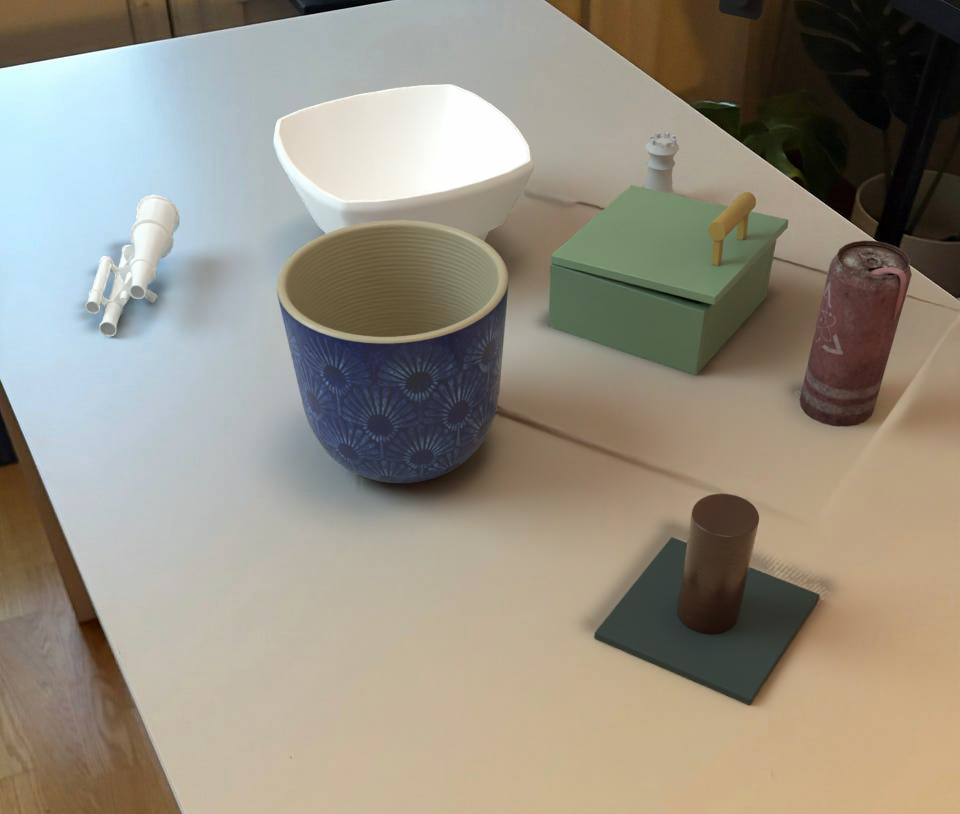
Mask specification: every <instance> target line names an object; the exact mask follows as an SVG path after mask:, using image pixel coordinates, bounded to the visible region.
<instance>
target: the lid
mask: <svg viewBox="0 0 960 814" xmlns="http://www.w3.org/2000/svg"><path fill="white" fill-rule="evenodd" d="M756 205H757V199H756V197H755V195H754V194H753V193H751V192H750V191H743V192H742V193H740V194H739V195H738V196H737V197H736V198H735V199H734V200H733V201H732V202H731V203H730V204H729V205H723V204H720V203H715V202H714V203H713V202H709V201H705V200H701V199H696V198H692V197H686V196H684V195H683V196H682V195H679V194H678V195H677V194H675V195H674V194H669V193H665V192H660V191H655V190H651V189H646V188H644V187H641V186H636V185H632V184H631V185H630V186H628V187H627V188H626V189H625V190H624V191H623V192H621V193H620V194H619V195H618V196H617V197H616V198H615V199H614V200H613V201H611V202H610V203H609V204H608V205H606V207H604V208H603V209H602V210H600V211H599V212H598V214H596V215H595V216H594V217H593V218H592V219H591V220H589V222H587V223H585V225H584V226H582V227H581V228H580V229H579V230H578V231H577V232H576V233H575V234H573V235H572V236H571V237H570V238H569V239H567V241H565V242H564V243H563V244H561V245H560V247H558V248H557V249H556V250H555V251H553V253H551V255H550V264H556V265H560V266H563V267H567V268H571V269H575V270H579V271H583V272H587V273H591V274H595V275H599V276H603V277H607V278H611V279H614V280H618V281H622V282H626V283H630V284H634V285H638V286H642V287H646V288H650V289H654V290H658V291H662V292H666V293H669V294H673V295H677V296H681V297H685V298H689V299H693V300H697V301H701V302H705V303H709V304H713V305H715V304H716V303H717V302H718V301H719V300H720V299H721V298H722V297H723V296H724V295H725V294H726V293H727V292H728V291H729V290H730V288H731V287H732V286H733V285H734V284H735V283H736V282H737V281H738V280H739V279H740V278H741V277H742V276H743V275H744V274H745V273H746V271H747V270H748V269H749V268H750V267H751V266H752V265H753V264H754V263H755V262H756V261H757V260H758V259H759V258H760V257H761V256H762V254H763V253H764V252H765V251H766V250H767V249H768V248H769V247H770V246H771V245H772V244H773V243H774V242H775V241H776V242H777V240H778V239H779V238H780V237H781V235H783V233H784V232H786V230H787V229H788V227H789V219H787V218H782V217H778V216H773V215H769V214H764V213H761V212H755V211H753V210H754V209H755V207H756Z"/></svg>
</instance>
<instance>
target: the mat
mask: <svg viewBox="0 0 960 814" xmlns="http://www.w3.org/2000/svg"><path fill="white" fill-rule="evenodd" d="M686 547H687V542H686V541H683V540H680V539H678V538H675V537H673V536H672V537H670V539H668V541H667V542H666V543H665V545H664V546H663V547H662V548H661V549H660V551H659V552H658V553H657V555H656V556H655V557H654V558H653V560H652V561H651V562H650V563H649V565H648V566H647V567H646V568H645V570H644V571H642V573H641V574H640V575H639V577H638V578H637V580H636V581H635V582H634V583H633V584H632V586H631V587H630V588H629V589H628V590H627V592H626V593H625V594H624V596H623V597H622V598H621V599H620V600H619V601H618V603H617V604H616V605H615V607H614V608H613V609H612V610H611V612H610V613H609V614H608V615H607V617H606V618H605V619H604V620H603V622H602V623H601V624H600V625H599V626H598V628H597V629H596V631H594V639H595V640H598V641H600V642H603V643H605V644H606V645H609V646H612V647H614V648H615V649H616V648H617V649H619V650H621V651H624V652H625V653H628V654H630V655H633V656H635V657H638V658H639V659H642V660H644V661H646V662H649V663H651V664H654V665H656V666H658V667H660V668H663V669H665V670H667V671H670V672H672V673H674V674H676V675H679V676H681V677H684V678H686V679H688V680H690V681H693V682H695V683H698V684H700V685H702V686H704V687H707V688H709V689H712V690H714V691H716V692H718V693H721V694H723V695H725V696H728V697H730V698H732V699H735V700H737V701H739V702H742V703H744V704H746V705H748V706H749V705H751V704H752V702H754V699H755V698H756V696H757V694H758V693H759V691H760V690H761V688H762V687H763V685H764V684H765V682H767V680H768V678H769V676H770V675H771V674H772V672H773V670H774V669H775V668H776V666H777V664H778V663H779V661H780V660H781V658H782V657H783V655H784V654H785V652H786V650H787V649H788V647H789V646H790V644H791V643H792V641H793V640H794V638H795V637H796V635H797V633H798V632H799V631H800V629H801V628H802V626H803V624H804V623H805V621H807V618H808V617H809V615H810V614H811V612H812V611H813V609H814V608H815V607H816V605H817V603H818V602H819V601H820V597H821V594H820V593H817V592H815V591H812V590H809V589H808V588H804V587H801V586H799V585H796V584H795V583H791V582H789V581H787V580H783V579H781V578H779V577H776V576H773V575H771V574H769V573H766V572H764V571H761V570H758V569H755V568H753V567H750V566H749V571H748V576H747V581H746V585H745V590H744V595H743V600H742V604H741V609H740V614H739V619H738V621H737V623H736V624H735V625H734V626H733V627H732V628H731V629H730V630H728V631H726V632H723V633H719V634H703V633H699V632H696V631H693V630H691V629H689V628H688V627H686V626H685V625H684V624H683V623H682V622H681V620H680V619H679V617H678V614H677V605H678V599H679V592H680V586H681V580H682V573H683V567H684V560H685V554H686Z"/></svg>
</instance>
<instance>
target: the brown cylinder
mask: <svg viewBox="0 0 960 814" xmlns="http://www.w3.org/2000/svg"><path fill="white" fill-rule="evenodd" d="M689 522H690V523H689V528H688V533H687V535H688V536H687V542H686V543H687V547H686V554H685V560H684V567H683V573H682V580H681V586H680V592H679V599H678V605H677V614H678V617H679V619H680V620H681V622H682V623H683V624H684V625H685V626H686V627H688V628H689V629H691V630H693V631H696V632H699V633H703V634H719V633H723V632H726V631H728V630H730V629H731V628H732V627H733V626H734V625H735V624H736V623H737V621H738V619H739V614H740V609H741V604H742V600H743V595H744V590H745V585H746V581H747V576H748V571H749V567H750V566H751V561H752V557H753V552H754V547H755V543H756V537H757V534H758V533H757V532H758V529H759V523H760V513H759V511H758V509H757V508H756V506H755V505H754V504H752V502H750V501H749V500H748V499H746V498H744V497H741V496H738V495H735V494H730V493H715V494H709V495H706V496H704V497H702V498H700V499H699V500H698V501H697V502H695V504H694V505H693V507H692V510H691V517H690V521H689Z"/></svg>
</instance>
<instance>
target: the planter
mask: <svg viewBox="0 0 960 814" xmlns="http://www.w3.org/2000/svg"><path fill="white" fill-rule="evenodd" d="M508 292H509V271H508V268H507V266H506V263H505V261H504V260H503V258H502V256H501V255H500V254H499V252H498V251H497V250H496V249H494V247H493V246H491V245H490V244H489V243H487V242H486V241H483V240H481V239H480V238H478V237H476V236H474V235H472V234H470V233H467V232H465V231H462V230H460V229H457V228H453V227H450V226H446V225H442V224H437V223H431V222H424V221H412V220H388V221H376V222H368V223H362V224H357V225H352V226H348V227H345V228H341V229H338V230H335V231H332V232H329V233H327V234H326V233H324V234H322V235H320V236H318V237H316V238H314V239H312V240H310V241H309V242H307V243H306V244H304V245H303V246H301V247H300V248H298V249H297V250H296V251H294V252H293V254H291V255H290V256H289V257H288V259H287V260H286V261H285V262H284V264H283V266H282V267H281V269H280V271H279V272H278V276H277V280H276V295H277V300H278V304H279V308H280V312H281V313H280V314H281V317H282V322H283V325H284V330H285V334H286V339H287V342H288V343H287V344H288V348H289V351H290V356H291V361H292V365H293V368H294V373H295V377H296V381H297V385H298V391H299V394H300V400H301V403H302V407H303V410H304V414H305V415H306V419H307V422H308V425H309V426H310V428H311V430H312V432H313V434H314V436H315V438H316V439H317V441H318V442H319V444H320V446H322V447H323V450H325V452H326V454H328V455H329V456H330V457H331V458H332V459H333V460H334V461H336V462H337V463H338V464H340V466H342V467H344V468H345V469H347V470H349V471H350V472H352V473H354V474H357V475H358V476H359V477H363V478H366V479H369V480H372V481H375V482H382V483H390V484H411V483H420V482H424V481H429V480H432V479H436V478H439V477H441V476H443V475H446V474H448V473H450V472H452V471H454V470H455V469H456V468H458V467H460V466H461V465H463V464H464V463H465V462H466V461H467V460H468V459H470V458H471V457H472V456H473V455H474V454H475V453H476V452H477V450H479V448H480V447H481V445H482V444H483V442H484V441H485V439H486V437H487V435H488V433H489V432H490V429H491V427H492V426H493V425H492V424H493V421H494V419H495V415H496V412H497V408H498V403H499V398H500V391H501V379H502V366H503V353H504V340H505V330H506V329H505V328H506V317H507V305H508Z"/></svg>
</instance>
